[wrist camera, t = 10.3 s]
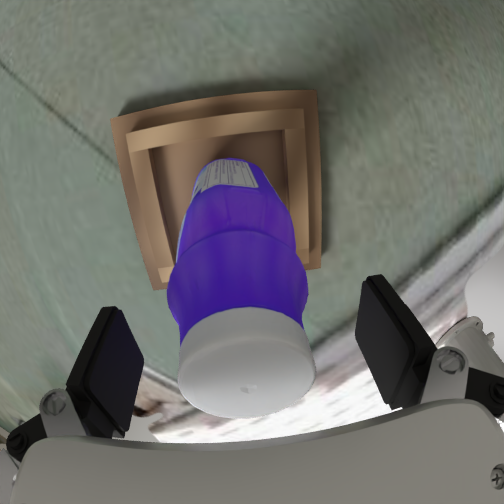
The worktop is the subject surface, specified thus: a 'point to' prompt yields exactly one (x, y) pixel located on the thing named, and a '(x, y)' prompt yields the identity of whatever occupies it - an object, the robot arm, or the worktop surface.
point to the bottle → (239, 297)
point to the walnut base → (212, 148)
